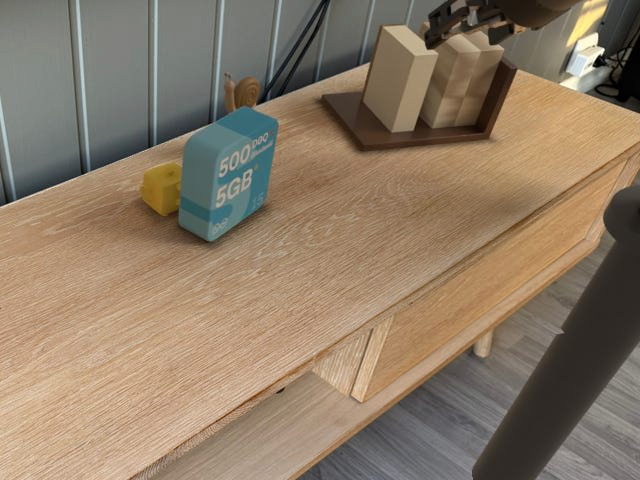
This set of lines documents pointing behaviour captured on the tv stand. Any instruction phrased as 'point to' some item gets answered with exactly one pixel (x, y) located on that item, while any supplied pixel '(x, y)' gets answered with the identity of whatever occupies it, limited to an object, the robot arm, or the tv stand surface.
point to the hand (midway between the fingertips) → (459, 39)
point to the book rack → (439, 98)
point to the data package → (226, 172)
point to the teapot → (162, 188)
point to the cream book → (398, 77)
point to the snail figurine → (241, 93)
